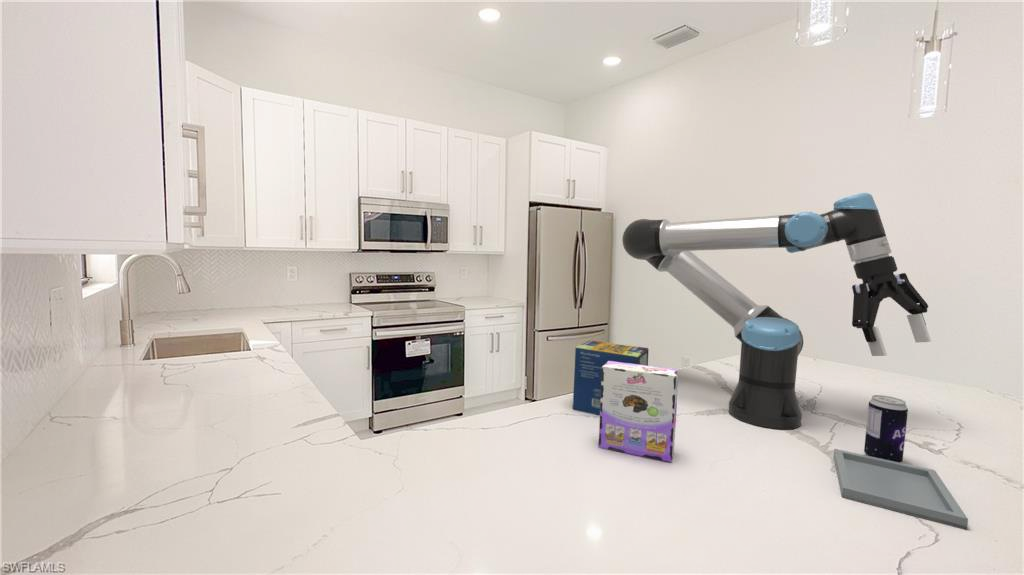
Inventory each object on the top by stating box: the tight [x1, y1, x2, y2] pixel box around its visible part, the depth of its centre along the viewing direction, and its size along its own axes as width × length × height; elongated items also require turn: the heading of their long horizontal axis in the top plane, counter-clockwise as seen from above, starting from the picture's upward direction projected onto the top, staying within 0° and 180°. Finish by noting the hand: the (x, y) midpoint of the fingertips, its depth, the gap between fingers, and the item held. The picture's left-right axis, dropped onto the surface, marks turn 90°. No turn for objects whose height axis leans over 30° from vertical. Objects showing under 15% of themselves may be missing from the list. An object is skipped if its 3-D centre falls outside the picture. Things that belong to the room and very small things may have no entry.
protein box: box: [572, 340, 650, 416], centre depth 107 cm, size 10×15×16 cm
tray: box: [833, 448, 969, 530], centre depth 74 cm, size 14×17×2 cm
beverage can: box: [863, 394, 909, 463], centre depth 84 cm, size 6×6×12 cm
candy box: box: [597, 361, 679, 463], centre depth 85 cm, size 14×6×16 cm, turn 65°
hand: (901, 348), depth 100 cm, fingers open, 13 cm apart
